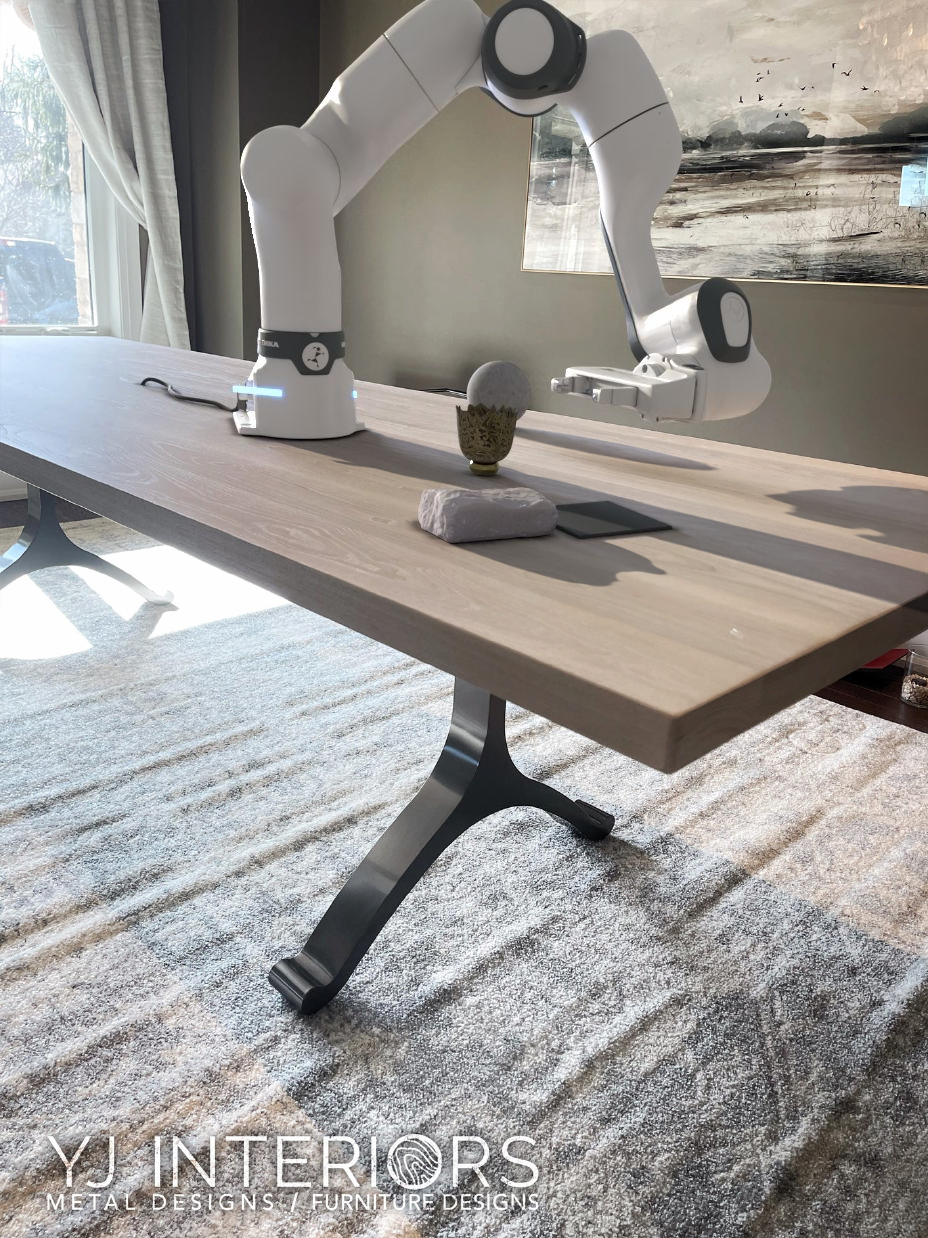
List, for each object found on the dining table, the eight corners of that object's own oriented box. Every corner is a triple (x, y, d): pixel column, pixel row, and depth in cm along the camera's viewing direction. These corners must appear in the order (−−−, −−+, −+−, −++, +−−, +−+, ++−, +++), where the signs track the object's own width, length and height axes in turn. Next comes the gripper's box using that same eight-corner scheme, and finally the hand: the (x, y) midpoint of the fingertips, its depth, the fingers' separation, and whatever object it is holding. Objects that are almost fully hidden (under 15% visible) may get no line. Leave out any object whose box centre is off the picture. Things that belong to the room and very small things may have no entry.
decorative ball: (505, 419, 156) (509, 356, 152) (541, 429, 148) (545, 363, 144) (453, 422, 151) (456, 357, 147) (487, 433, 143) (491, 364, 139)
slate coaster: (521, 510, 99) (521, 508, 99) (607, 503, 104) (608, 500, 103) (579, 538, 90) (580, 535, 90) (671, 528, 95) (672, 525, 94)
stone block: (408, 536, 94) (447, 544, 85) (408, 487, 93) (446, 489, 84) (516, 532, 99) (563, 539, 90) (516, 486, 98) (564, 488, 89)
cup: (483, 464, 120) (486, 400, 118) (526, 475, 115) (531, 408, 113) (441, 471, 115) (443, 405, 113) (484, 482, 111) (487, 413, 108)
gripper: (618, 355, 131) (532, 355, 125) (719, 371, 114) (625, 373, 108) (614, 401, 133) (529, 404, 127) (712, 424, 116) (620, 429, 110)
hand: (574, 390), depth 117 cm, fingers open, 8 cm apart
